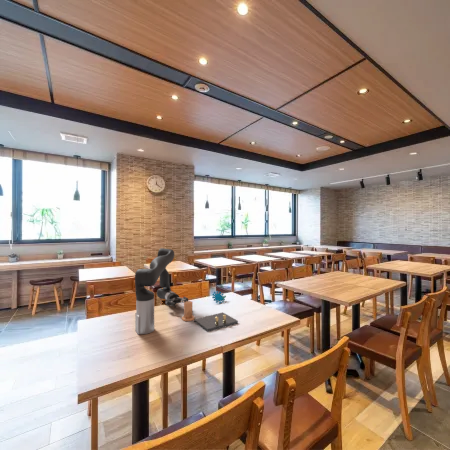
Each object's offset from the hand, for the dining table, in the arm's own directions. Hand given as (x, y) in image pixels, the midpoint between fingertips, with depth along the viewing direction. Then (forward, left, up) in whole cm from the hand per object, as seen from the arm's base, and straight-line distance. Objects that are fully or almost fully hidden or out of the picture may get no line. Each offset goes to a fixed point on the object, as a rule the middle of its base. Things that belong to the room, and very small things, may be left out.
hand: (181, 304), depth 155 cm
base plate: (+11, -25, -6) cm, 28 cm away
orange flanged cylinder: (0, -11, -6) cm, 12 cm away
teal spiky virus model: (+32, +6, -6) cm, 33 cm away
